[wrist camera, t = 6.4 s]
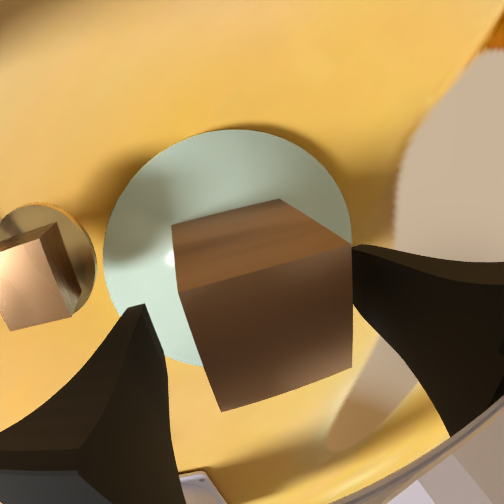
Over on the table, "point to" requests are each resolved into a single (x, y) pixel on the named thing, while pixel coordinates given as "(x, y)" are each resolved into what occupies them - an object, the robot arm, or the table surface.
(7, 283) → the balance
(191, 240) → the walnut block
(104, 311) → the table surface
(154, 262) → the dish
